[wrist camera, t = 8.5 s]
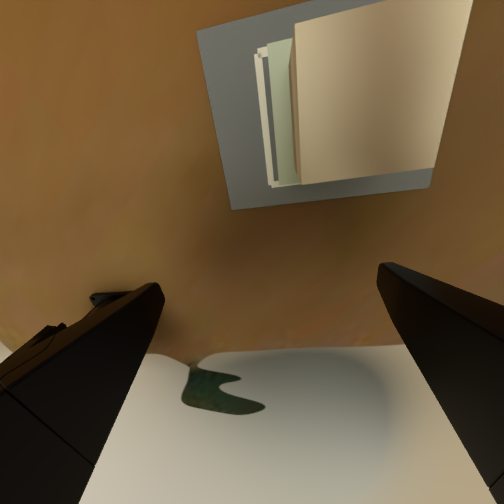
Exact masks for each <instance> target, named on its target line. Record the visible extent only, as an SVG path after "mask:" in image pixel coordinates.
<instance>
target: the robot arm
mask: <svg viewBox="0 0 504 504" xmlns="http://www.w3.org/2000/svg"><path fill="white" fill-rule="evenodd" d="M377 287H378V290H379V292H380V294H381V297H382V299H383V301H384V304H385V306H386V308H387V311H388V313H389V315H390V318H391V320H392V322H393V324H394V326H395V328H396V329H397V331H398V333H399V335H400V336H401V338H402V340H403V341H404V343H405V345H406V347H407V348H408V350H409V352H410V354H411V355H412V357H413V359H414V360H415V362H416V364H417V366H418V367H419V369H420V371H421V373H422V374H423V376H424V378H425V380H426V381H427V383H428V385H429V386H430V388H431V390H432V391H433V393H434V395H435V397H436V398H437V400H438V402H439V404H440V405H441V407H442V409H443V411H444V412H445V414H446V416H447V418H448V419H449V421H450V423H451V424H452V426H453V428H454V430H455V431H456V433H457V435H458V437H459V438H460V440H461V442H462V444H463V445H464V447H465V448H466V450H467V452H468V454H469V456H470V457H471V459H472V460H473V462H474V464H475V466H476V468H477V469H478V471H479V473H480V475H481V476H482V478H483V480H484V482H485V483H486V485H487V486H488V487H489V491H490V492H491V494H492V496H493V497H494V499H495V501H496V503H497V504H504V306H503V305H500V304H498V303H495V302H493V301H490V300H488V299H485V298H483V297H480V296H477V295H475V294H472V293H470V292H467V291H465V290H462V289H460V288H457V287H454V286H452V285H449V284H447V283H444V282H442V281H439V280H437V279H434V278H431V277H429V276H426V275H424V274H421V273H419V272H416V271H414V270H411V269H408V268H406V267H403V266H401V265H398V264H396V263H393V262H387V263H381V264H379V267H378V274H377ZM89 298H90V300H91V302H92V303H93V305H94V306H95V307H94V308H93V309H92V310H91V311H90V312H89V313H88V314H87V315H86V316H85V317H84V318H83V319H81V320H80V321H78V322H76V323H75V324H73V325H71V326H69V327H66V325H65V324H64V323H61V324H59V325H58V326H57V327H56V326H49V325H47V326H46V327H45V328H44V329H42V330H41V331H40V332H39V333H38V334H36V335H35V336H34V337H33V338H32V339H30V340H29V341H28V342H27V343H25V344H24V345H23V346H22V347H20V348H19V349H18V350H16V351H15V352H14V353H13V354H11V355H10V356H9V357H8V358H6V359H5V360H4V361H3V362H2V363H0V504H79V501H80V499H81V497H82V495H83V492H84V490H85V488H86V485H87V484H88V481H89V479H90V477H91V475H92V472H93V470H94V468H95V465H96V463H97V461H98V459H99V456H100V454H101V452H102V450H103V447H104V445H105V443H106V441H107V438H108V436H109V434H110V431H111V429H112V427H113V425H114V423H115V420H116V418H117V416H118V414H119V412H120V409H121V407H122V405H123V403H124V400H125V398H126V396H127V394H128V392H129V389H130V387H131V385H132V383H133V380H134V378H135V376H136V374H137V371H138V369H139V367H140V365H141V362H142V360H143V358H144V356H145V354H146V351H147V349H148V347H149V345H150V342H151V340H152V338H153V335H154V333H155V330H156V327H157V324H158V321H159V318H160V315H161V312H162V309H163V306H164V303H165V297H164V294H163V292H162V290H161V288H160V285H159V284H158V283H156V282H154V283H147V284H145V285H143V286H141V287H140V288H138V289H136V290H134V291H132V292H119V293H100V294H92V295H91V296H90V297H89Z"/></svg>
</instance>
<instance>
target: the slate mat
mask: <svg viewBox="0 0 504 504" xmlns="http://www.w3.org/2000/svg"><path fill="white" fill-rule="evenodd" d="M381 1H385V0H312V1H308V2H304V3H301V4H297V5H293V6H289V7H286V8H282V9H278V10H274V11H270V12H267V13H263V14H259V15H255V16H251V17H248V18H244V19H240V20H236V21H233V22H229V23H225V24H221V25H217V26H214V27H210V28H206V29H202V30H198V31H196V34H197V39H198V44H199V49H200V54H201V59H202V64H203V69H204V74H205V79H206V84H207V89H208V94H209V99H210V104H211V109H212V114H213V119H214V124H215V129H216V134H217V139H218V144H219V149H220V154H221V159H222V164H223V169H224V174H225V179H226V184H227V189H228V194H229V199H230V204H231V209H232V210H239V209H247V208H256V207H265V206H274V205H282V204H291V203H300V202H309V201H318V200H326V199H335V198H344V197H353V196H362V195H370V194H379V193H388V192H397V191H405V190H414V189H423V188H429V186H430V182H431V177H432V173H433V169H434V168H426V169H419V170H411V171H404V172H396V173H389V174H381V175H373V176H366V177H358V178H351V179H343V180H336V181H328V182H320V183H313V184H305V185H301V183H294V184H286V185H279V178H278V166H277V155H276V143H275V132H274V120H273V109H272V97H271V86H270V74H269V63H268V51H267V44H268V43H273V42H277V41H281V40H285V39H289V38H293V32H294V25H295V24H296V23H300V22H304V21H307V20H311V19H315V18H319V17H323V16H327V15H331V14H335V13H339V12H342V11H346V10H350V9H354V8H358V7H362V6H366V5H370V4H374V3H377V2H381ZM473 1H474V0H473ZM472 5H473V3H472ZM471 9H472V7H471ZM470 13H471V11H470ZM469 18H470V15H469ZM468 22H469V20H468ZM467 26H468V24H467ZM466 30H467V28H466ZM465 34H466V33H465ZM464 39H465V37H464ZM463 43H464V41H463ZM462 47H463V45H462ZM461 51H462V50H461ZM460 55H461V54H460ZM459 60H460V58H459ZM458 64H459V63H458ZM457 68H458V67H457ZM456 72H457V71H456ZM455 76H456V75H455ZM454 81H455V80H454ZM453 85H454V84H453ZM452 89H453V88H452ZM449 102H450V101H449ZM448 106H449V105H448ZM445 119H446V118H445Z"/></svg>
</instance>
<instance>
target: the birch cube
mask: <svg viewBox="0 0 504 504" xmlns="http://www.w3.org/2000/svg"><path fill="white" fill-rule="evenodd" d="M472 3H473V0H385V1H381V2H377V3H374V4H370V5H366V6H362V7H358V8H354V9H350V10H346V11H342V12H339V13H335V14H331V15H327V16H323V17H319V18H315V19H311V20H307V21H304V22H300V23H296V24H295V25H294V32H293V38H292V45H291V52H290V58H289V65H288V69H289V87H290V104H291V121H292V139H293V156H294V169H295V171H296V173H297V175H298V178H299V180H300V182H301V185H305V184H313V183H320V182H328V181H336V180H343V179H351V178H358V177H366V176H373V175H381V174H389V173H396V172H404V171H411V170H419V169H426V168H434V166H435V161H436V157H437V153H438V148H439V144H440V140H441V136H442V131H443V127H444V123H445V118H446V114H447V110H448V105H449V101H450V97H451V93H452V88H453V84H454V80H455V75H456V71H457V67H458V63H459V58H460V54H461V50H462V45H463V41H464V37H465V33H466V28H467V24H468V20H469V15H470V11H471V7H472Z"/></svg>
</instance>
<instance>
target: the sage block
mask: <svg viewBox="0 0 504 504" xmlns="http://www.w3.org/2000/svg"><path fill="white" fill-rule="evenodd" d="M291 45H292V38H289V39H285V40H281V41H277V42H273V43H268V44H267V51H268V63H269V74H270V86H271V97H272V109H273V120H274V132H275V143H276V155H277V166H278V178H279V185H286V184H294V183H301V182H300V180H299V178H298V175H297V173H296V171H295V169H294V156H293V139H292V121H291V104H290V87H289V69H288V65H289V58H290V52H291Z"/></svg>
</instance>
